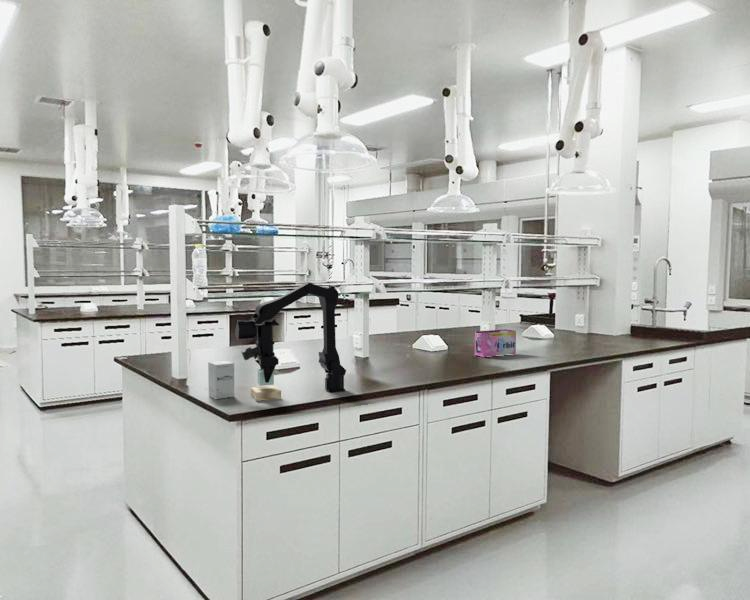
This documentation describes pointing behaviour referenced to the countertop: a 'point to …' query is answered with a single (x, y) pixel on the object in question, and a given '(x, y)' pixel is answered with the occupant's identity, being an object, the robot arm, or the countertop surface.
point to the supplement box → (221, 379)
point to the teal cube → (262, 379)
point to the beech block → (265, 393)
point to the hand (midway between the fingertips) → (265, 381)
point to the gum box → (495, 342)
